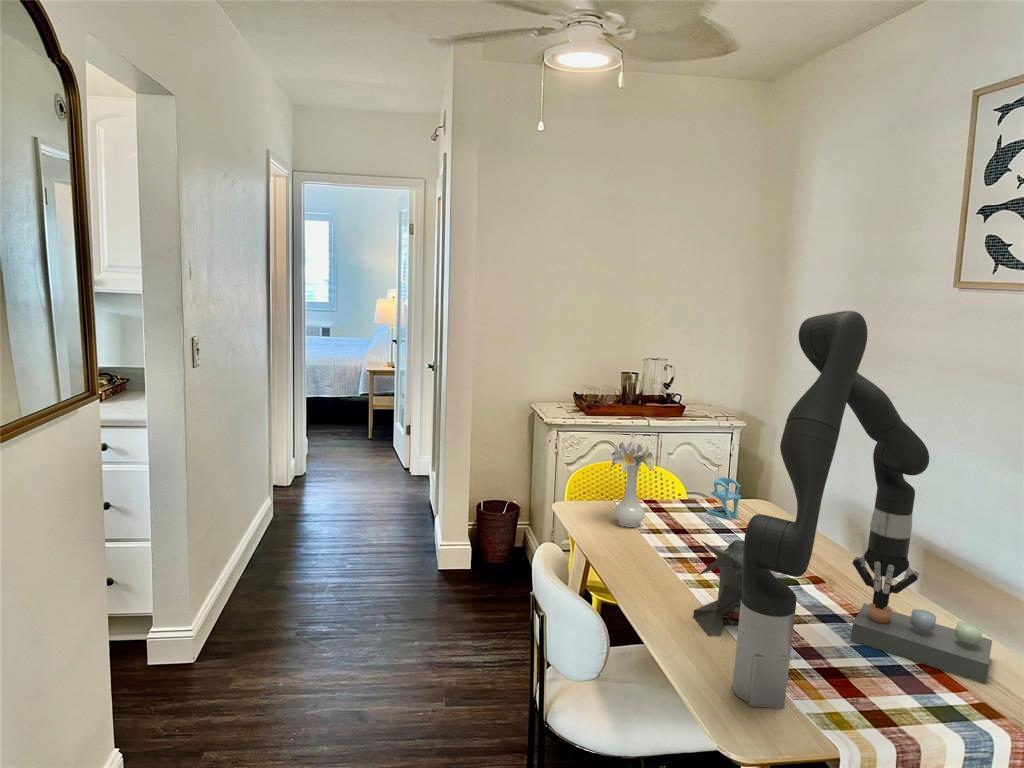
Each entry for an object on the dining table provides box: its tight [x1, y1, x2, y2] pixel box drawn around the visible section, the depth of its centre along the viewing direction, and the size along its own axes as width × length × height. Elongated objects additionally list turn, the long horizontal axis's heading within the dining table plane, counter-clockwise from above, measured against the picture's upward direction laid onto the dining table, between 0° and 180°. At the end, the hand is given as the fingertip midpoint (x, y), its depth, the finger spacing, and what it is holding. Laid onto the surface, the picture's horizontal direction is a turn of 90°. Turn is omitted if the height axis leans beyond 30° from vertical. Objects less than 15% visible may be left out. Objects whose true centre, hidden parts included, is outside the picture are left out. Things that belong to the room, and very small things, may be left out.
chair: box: [706, 476, 742, 521], centre depth 224 cm, size 8×8×12 cm
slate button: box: [910, 608, 937, 631], centre depth 146 cm, size 4×4×2 cm
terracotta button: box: [868, 602, 893, 623], centre depth 151 cm, size 4×4×2 cm
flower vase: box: [609, 441, 655, 528], centre depth 212 cm, size 13×18×25 cm
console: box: [850, 603, 993, 684], centre depth 147 cm, size 24×12×4 cm, turn 53°
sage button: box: [955, 621, 984, 644], centre depth 141 cm, size 4×4×2 cm
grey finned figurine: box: [692, 539, 744, 637], centre depth 155 cm, size 14×15×18 cm
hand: (879, 607), depth 151 cm, fingers closed
